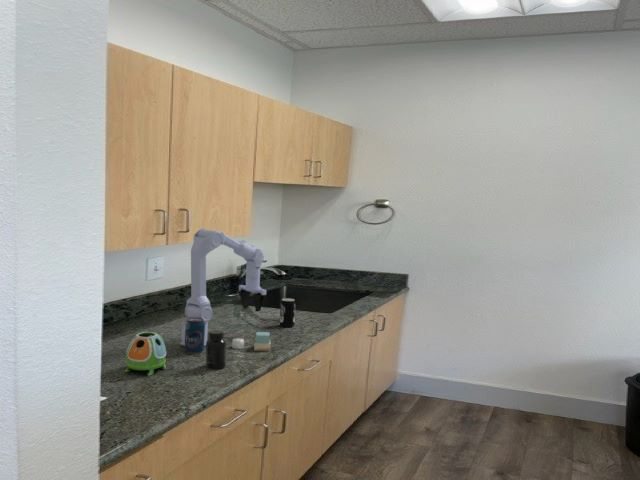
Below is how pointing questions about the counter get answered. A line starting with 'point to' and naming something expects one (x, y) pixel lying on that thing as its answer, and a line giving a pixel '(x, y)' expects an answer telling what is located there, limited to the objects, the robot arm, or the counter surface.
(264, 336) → the teal block
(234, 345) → the stoneware puck
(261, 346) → the beech block
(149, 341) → the turtle holder
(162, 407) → the counter surface
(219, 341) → the supplement bottle
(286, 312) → the beverage can
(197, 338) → the soda can
